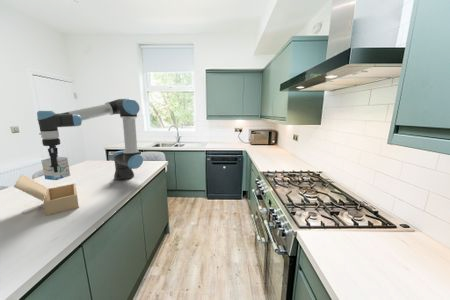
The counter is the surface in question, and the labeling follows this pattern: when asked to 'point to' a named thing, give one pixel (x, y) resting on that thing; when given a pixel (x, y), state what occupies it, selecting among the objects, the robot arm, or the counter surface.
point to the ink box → (61, 164)
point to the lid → (31, 187)
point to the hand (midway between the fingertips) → (57, 174)
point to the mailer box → (60, 199)
